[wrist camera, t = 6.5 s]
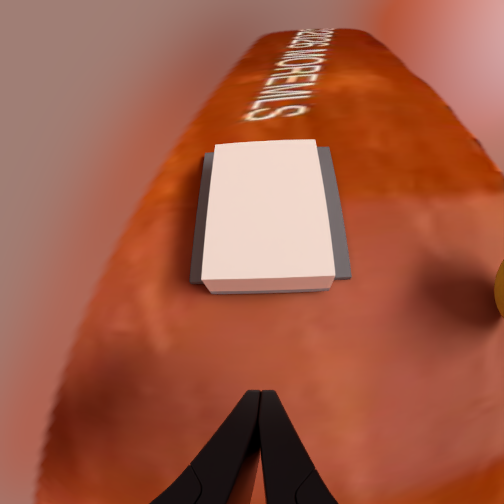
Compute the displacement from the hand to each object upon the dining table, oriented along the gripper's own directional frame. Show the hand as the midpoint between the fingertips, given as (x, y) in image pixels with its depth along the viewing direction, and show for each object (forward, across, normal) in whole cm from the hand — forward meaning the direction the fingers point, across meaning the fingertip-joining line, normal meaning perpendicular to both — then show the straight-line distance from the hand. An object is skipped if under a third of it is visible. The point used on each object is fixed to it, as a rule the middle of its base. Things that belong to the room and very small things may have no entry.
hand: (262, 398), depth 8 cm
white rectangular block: (+8, 0, 0) cm, 8 cm away
